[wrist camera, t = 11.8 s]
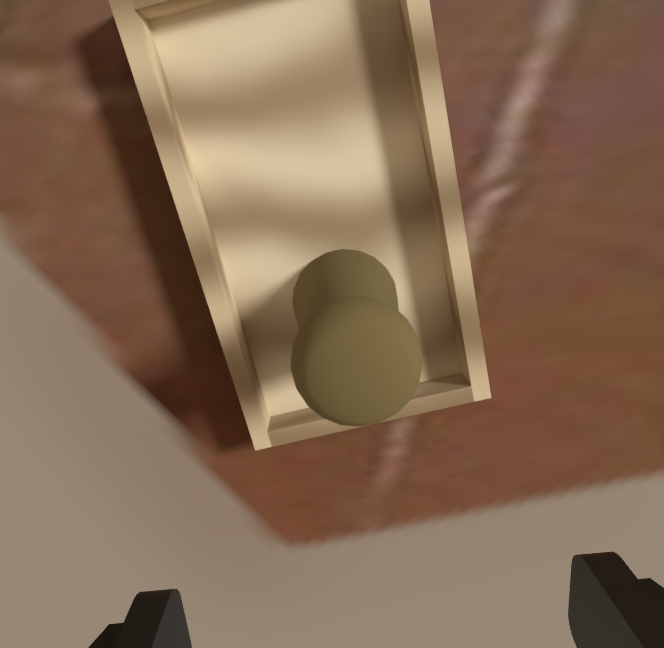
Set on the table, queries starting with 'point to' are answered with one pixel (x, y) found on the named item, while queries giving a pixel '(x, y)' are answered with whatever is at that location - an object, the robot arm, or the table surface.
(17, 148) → the table surface
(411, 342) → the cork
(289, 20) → the birch tray
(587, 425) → the table surface
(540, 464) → the table surface
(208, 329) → the table surface
